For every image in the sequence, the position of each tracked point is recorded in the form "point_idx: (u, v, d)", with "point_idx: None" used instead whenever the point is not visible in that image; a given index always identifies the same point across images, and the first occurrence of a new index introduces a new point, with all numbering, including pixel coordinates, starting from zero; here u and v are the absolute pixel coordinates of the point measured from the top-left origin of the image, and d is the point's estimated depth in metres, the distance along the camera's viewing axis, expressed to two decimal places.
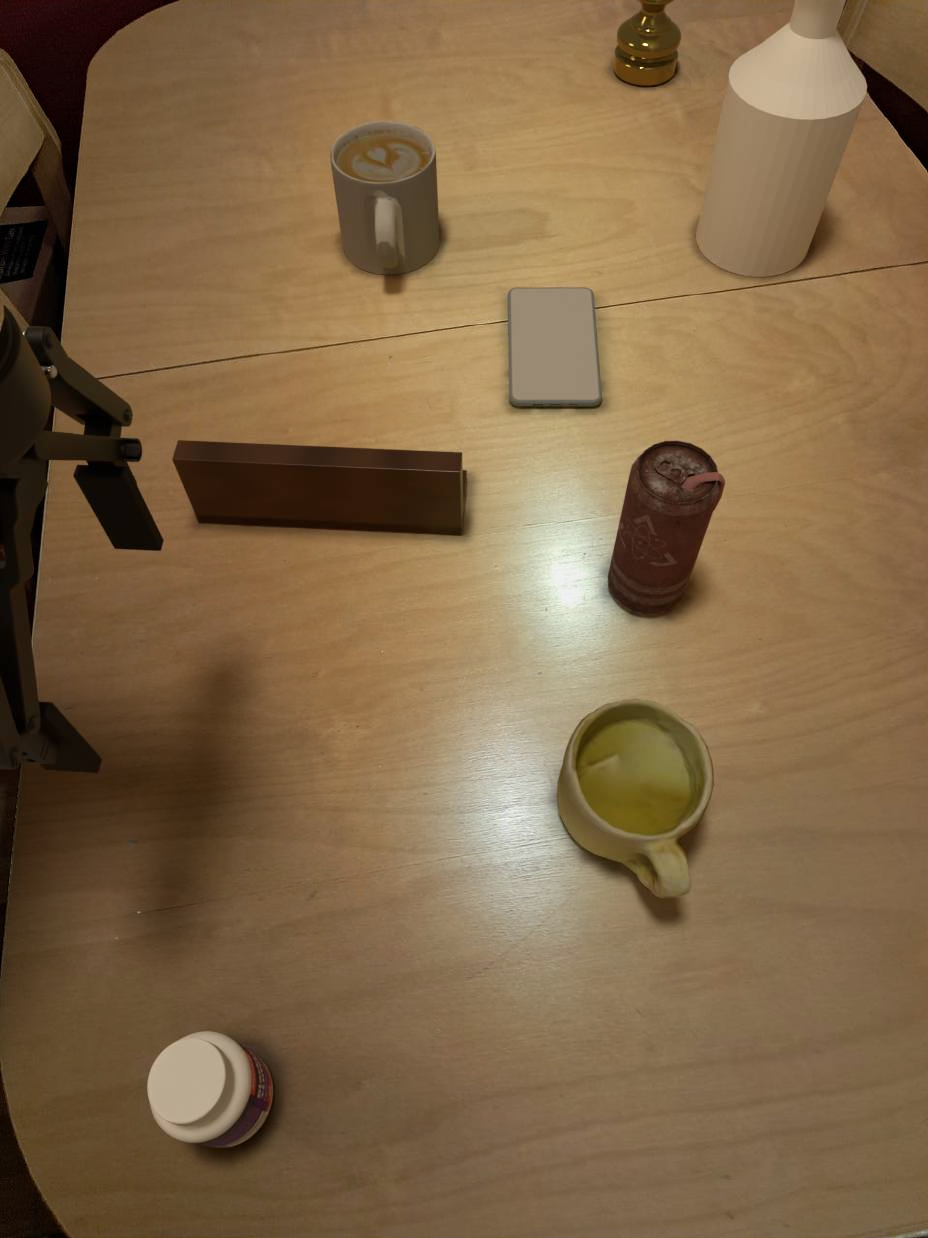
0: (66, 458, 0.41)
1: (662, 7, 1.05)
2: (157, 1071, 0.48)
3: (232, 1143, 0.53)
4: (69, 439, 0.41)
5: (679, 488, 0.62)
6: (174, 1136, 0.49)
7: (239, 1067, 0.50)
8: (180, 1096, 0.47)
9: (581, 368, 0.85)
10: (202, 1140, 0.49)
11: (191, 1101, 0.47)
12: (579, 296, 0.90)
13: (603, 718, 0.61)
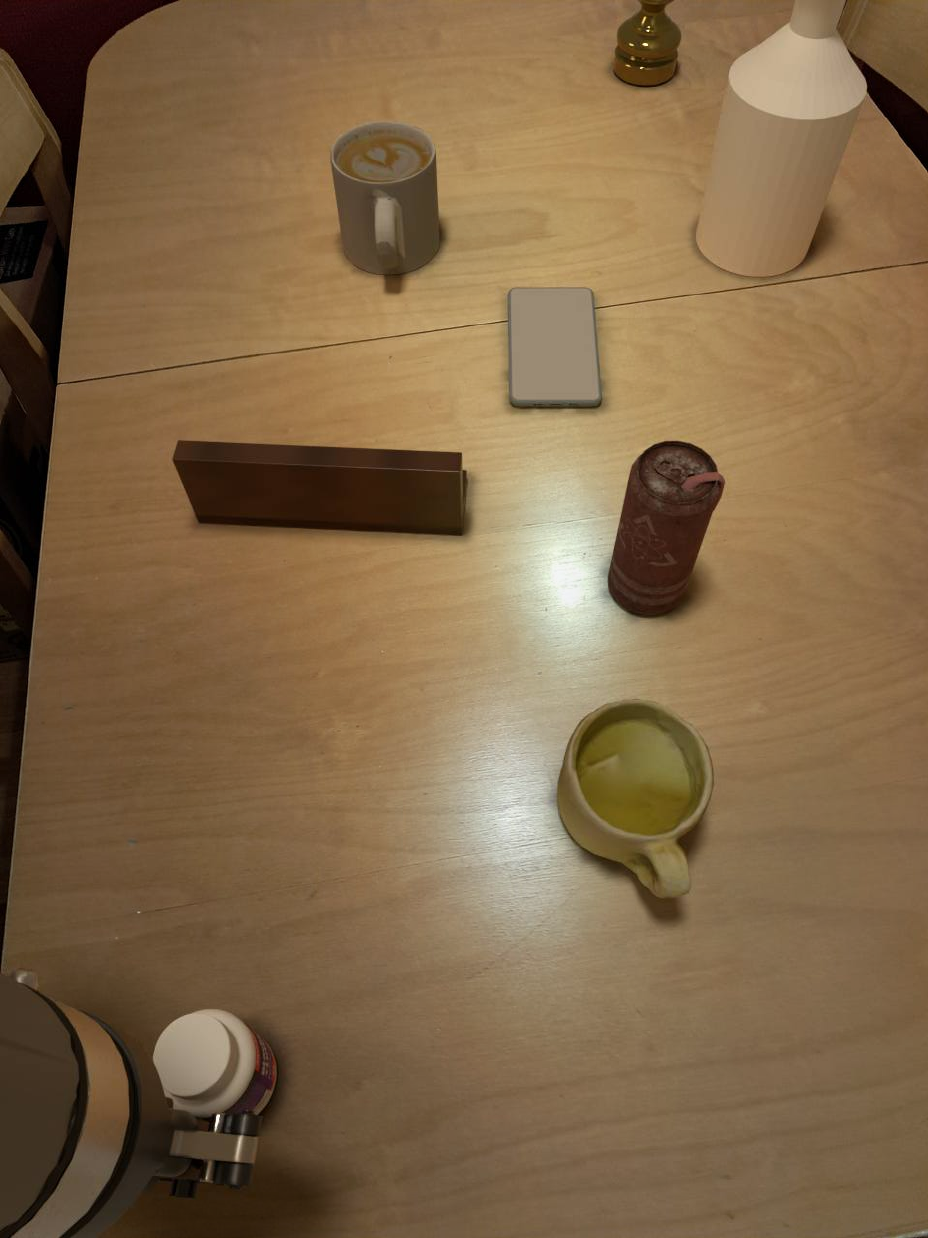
0: None
1: (662, 7, 1.05)
2: (162, 1046, 0.48)
3: None
4: None
5: (679, 488, 0.62)
6: None
7: (243, 1042, 0.51)
8: (185, 1070, 0.48)
9: (581, 368, 0.85)
10: (208, 1115, 0.49)
11: (196, 1074, 0.48)
12: (579, 296, 0.90)
13: (603, 718, 0.61)
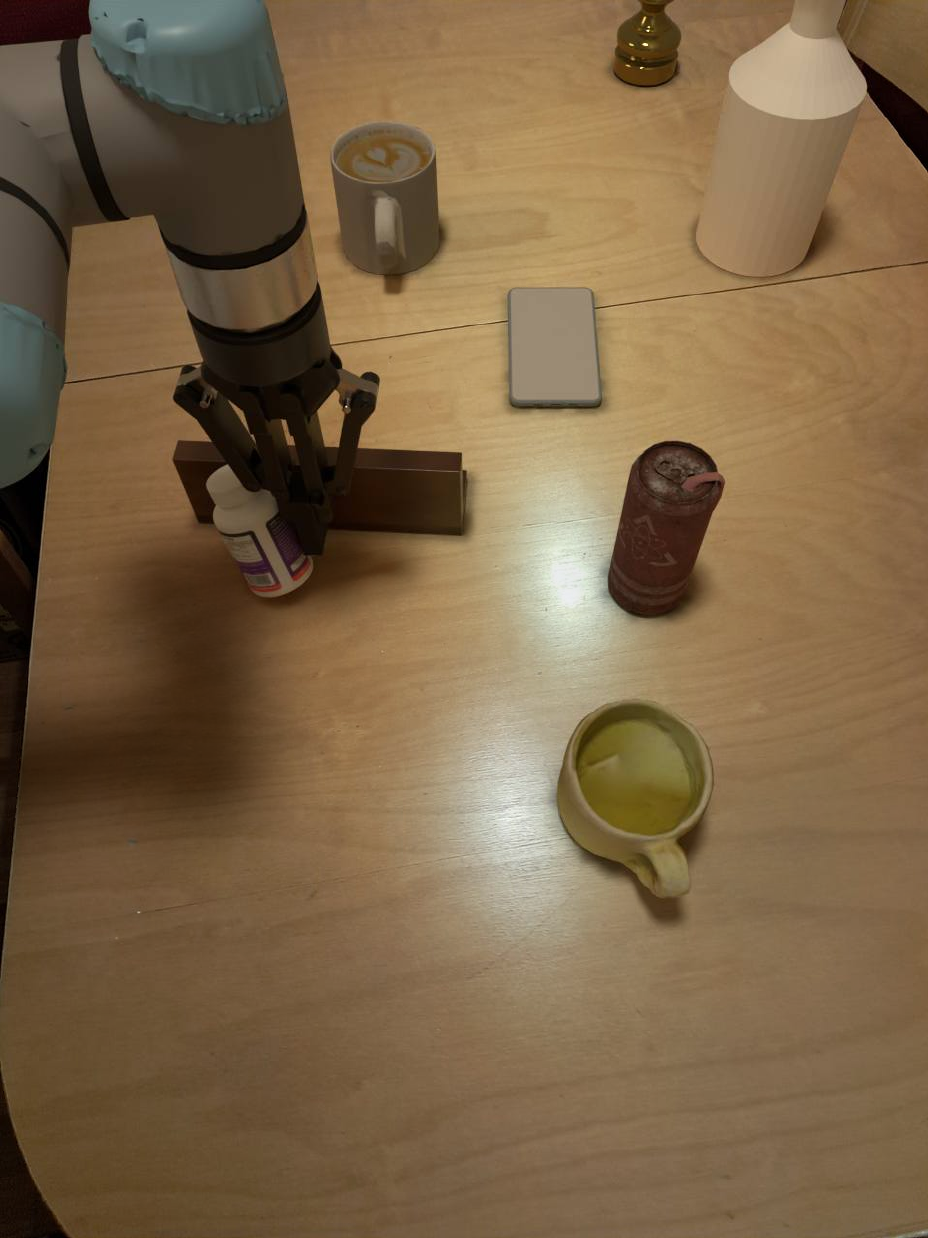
0: None
1: (662, 7, 1.05)
2: (217, 488, 0.67)
3: None
4: None
5: (679, 488, 0.62)
6: (268, 509, 0.68)
7: None
8: None
9: (581, 368, 0.85)
10: None
11: None
12: (579, 296, 0.90)
13: (603, 718, 0.61)
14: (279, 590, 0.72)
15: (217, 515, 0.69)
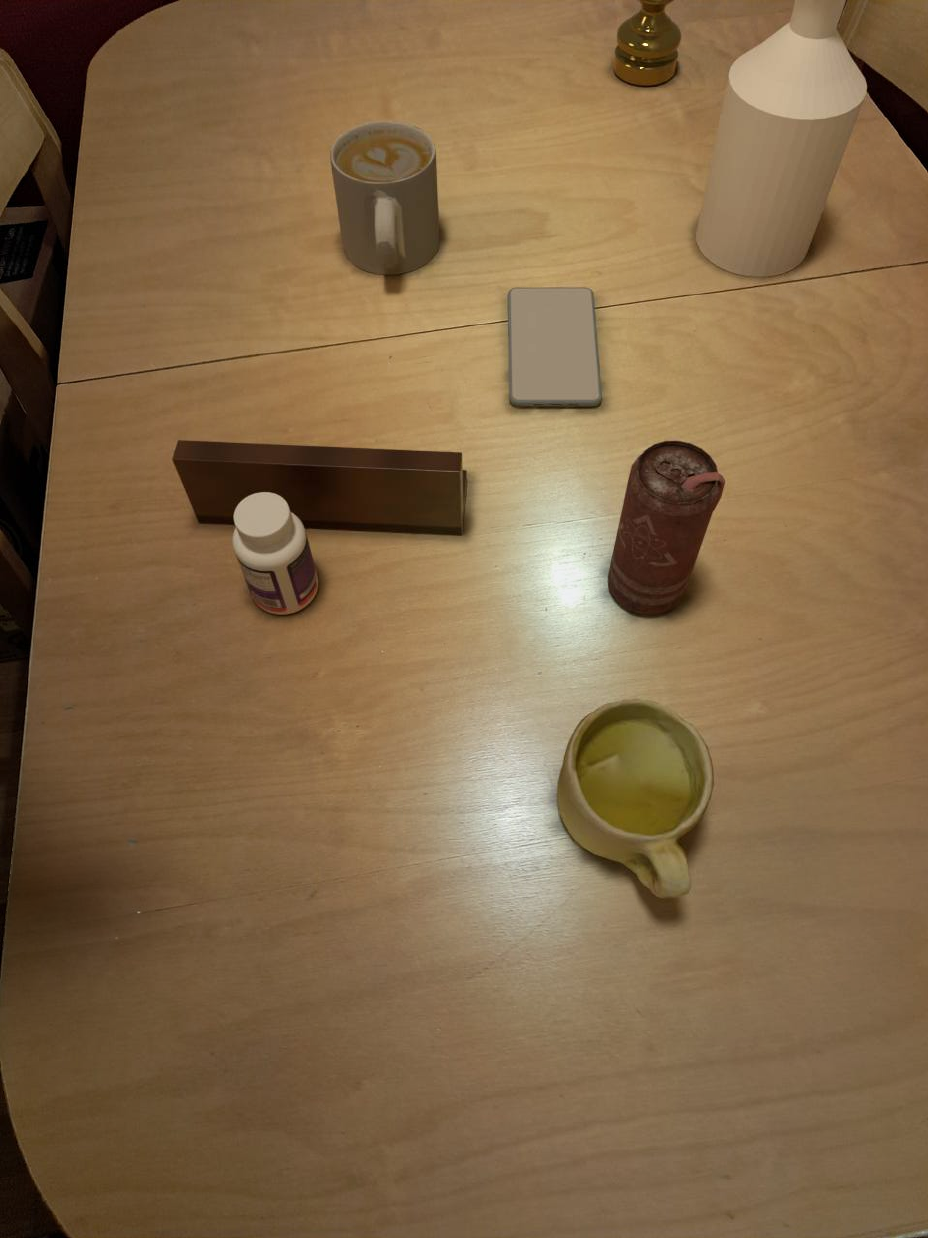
0: None
1: (662, 7, 1.05)
2: (246, 528, 0.66)
3: (315, 574, 0.73)
4: None
5: (679, 488, 0.62)
6: (292, 553, 0.68)
7: None
8: (269, 518, 0.66)
9: (581, 368, 0.85)
10: (303, 540, 0.68)
11: (276, 512, 0.66)
12: (579, 296, 0.90)
13: (603, 718, 0.61)
14: (283, 612, 0.73)
15: (238, 544, 0.68)
